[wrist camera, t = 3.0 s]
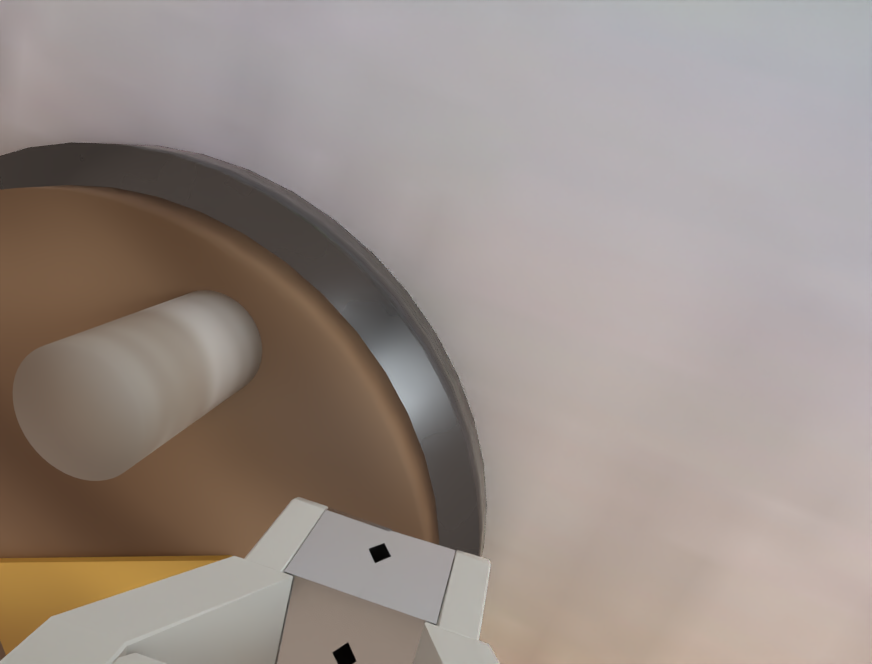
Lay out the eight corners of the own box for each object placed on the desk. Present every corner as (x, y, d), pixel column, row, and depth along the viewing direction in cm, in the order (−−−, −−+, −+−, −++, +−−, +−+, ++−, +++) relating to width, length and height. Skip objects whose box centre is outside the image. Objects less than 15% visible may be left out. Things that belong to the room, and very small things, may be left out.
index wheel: (234, 845, 20) (121, 1079, 15) (-196, 520, 20) (-456, 644, 15) (587, 493, 14) (601, 683, 9) (-20, 27, 14) (-353, -47, 9)
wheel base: (25, -18, 16) (-119, -65, 12) (683, 488, 16) (715, 575, 12) (-166, 493, 22) (-292, 551, 19) (298, 845, 22) (252, 963, 19)
